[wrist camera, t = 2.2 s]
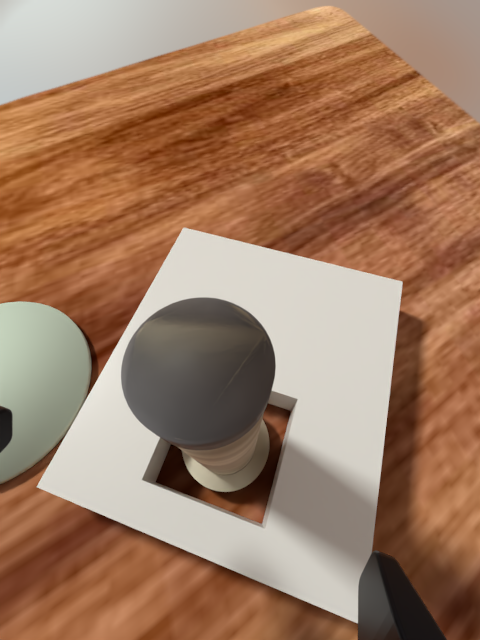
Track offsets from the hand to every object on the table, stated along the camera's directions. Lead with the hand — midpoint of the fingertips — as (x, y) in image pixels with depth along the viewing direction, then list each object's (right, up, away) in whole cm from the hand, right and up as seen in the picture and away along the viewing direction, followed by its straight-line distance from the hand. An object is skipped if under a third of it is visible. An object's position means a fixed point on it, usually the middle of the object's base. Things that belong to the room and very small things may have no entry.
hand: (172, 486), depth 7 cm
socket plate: (+2, 0, +11) cm, 11 cm away
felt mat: (-13, 0, +11) cm, 17 cm away
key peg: (+1, -3, +10) cm, 10 cm away
